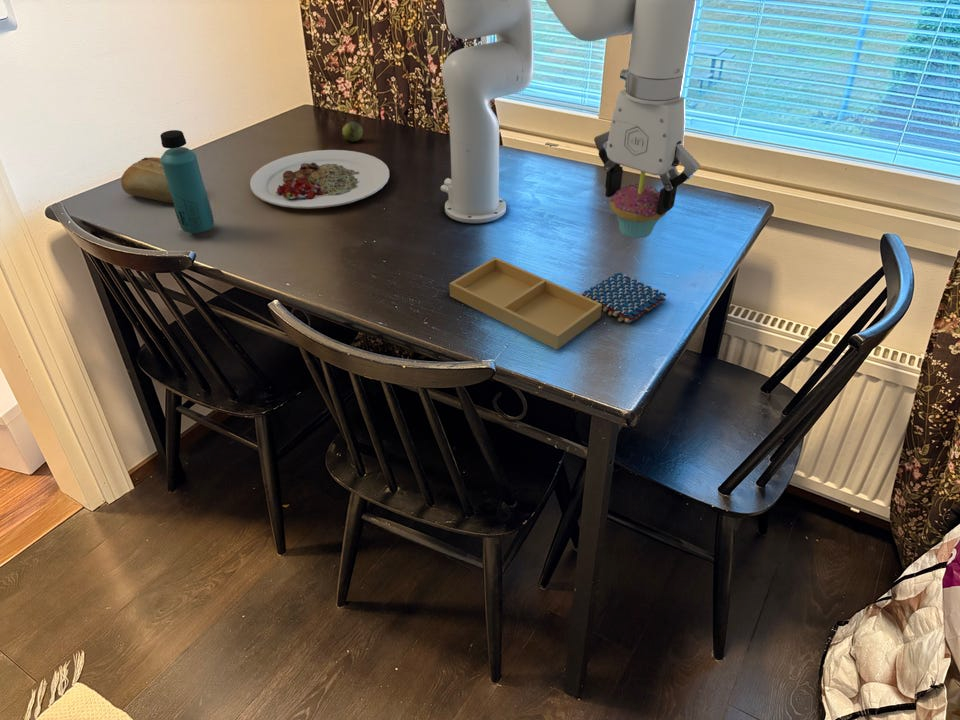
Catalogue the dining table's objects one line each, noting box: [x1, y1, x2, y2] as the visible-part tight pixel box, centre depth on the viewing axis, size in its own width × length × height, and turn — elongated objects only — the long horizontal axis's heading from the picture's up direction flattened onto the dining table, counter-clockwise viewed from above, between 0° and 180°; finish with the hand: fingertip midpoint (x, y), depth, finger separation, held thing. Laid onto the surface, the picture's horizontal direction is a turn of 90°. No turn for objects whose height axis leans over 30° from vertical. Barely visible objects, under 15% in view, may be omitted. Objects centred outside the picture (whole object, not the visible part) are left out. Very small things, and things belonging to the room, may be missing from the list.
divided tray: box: [449, 256, 603, 351], centre depth 118 cm, size 23×12×3 cm, turn 48°
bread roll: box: [120, 157, 174, 204], centre depth 150 cm, size 10×15×8 cm, turn 75°
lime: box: [341, 121, 364, 143], centre depth 176 cm, size 4×5×5 cm
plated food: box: [249, 149, 390, 209], centre depth 156 cm, size 30×30×3 cm
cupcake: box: [609, 171, 667, 239], centre depth 107 cm, size 9×8×12 cm
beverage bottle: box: [160, 129, 215, 234], centre depth 134 cm, size 6×7×20 cm
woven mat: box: [581, 272, 667, 323], centre depth 119 cm, size 10×11×2 cm
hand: (637, 202), depth 108 cm, fingers closed on cupcake, 8 cm apart
